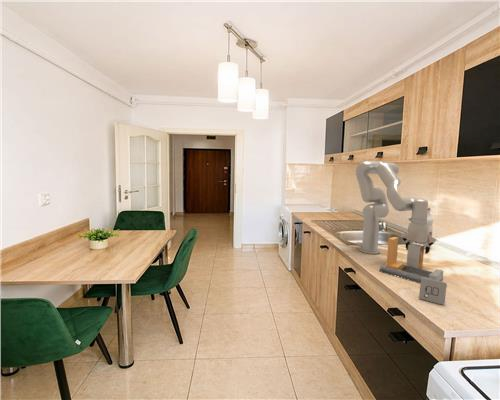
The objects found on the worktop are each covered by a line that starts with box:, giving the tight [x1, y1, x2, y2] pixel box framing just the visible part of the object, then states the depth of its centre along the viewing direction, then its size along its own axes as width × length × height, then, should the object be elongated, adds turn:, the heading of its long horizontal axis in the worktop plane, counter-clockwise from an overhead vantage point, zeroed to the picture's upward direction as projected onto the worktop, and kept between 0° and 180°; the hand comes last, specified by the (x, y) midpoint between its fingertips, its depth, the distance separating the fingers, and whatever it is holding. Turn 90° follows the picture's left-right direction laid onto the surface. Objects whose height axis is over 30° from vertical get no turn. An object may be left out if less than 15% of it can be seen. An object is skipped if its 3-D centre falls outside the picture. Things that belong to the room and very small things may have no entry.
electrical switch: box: [418, 278, 448, 306], centre depth 122 cm, size 9×5×9 cm, turn 52°
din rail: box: [379, 264, 444, 284], centre depth 148 cm, size 26×14×5 cm, turn 42°
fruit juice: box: [414, 207, 434, 250], centre depth 197 cm, size 9×9×28 cm
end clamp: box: [385, 236, 405, 270], centre depth 153 cm, size 6×9×17 cm, turn 132°
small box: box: [405, 242, 425, 269], centre depth 160 cm, size 8×6×13 cm
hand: (417, 251), depth 159 cm, fingers open, 9 cm apart
